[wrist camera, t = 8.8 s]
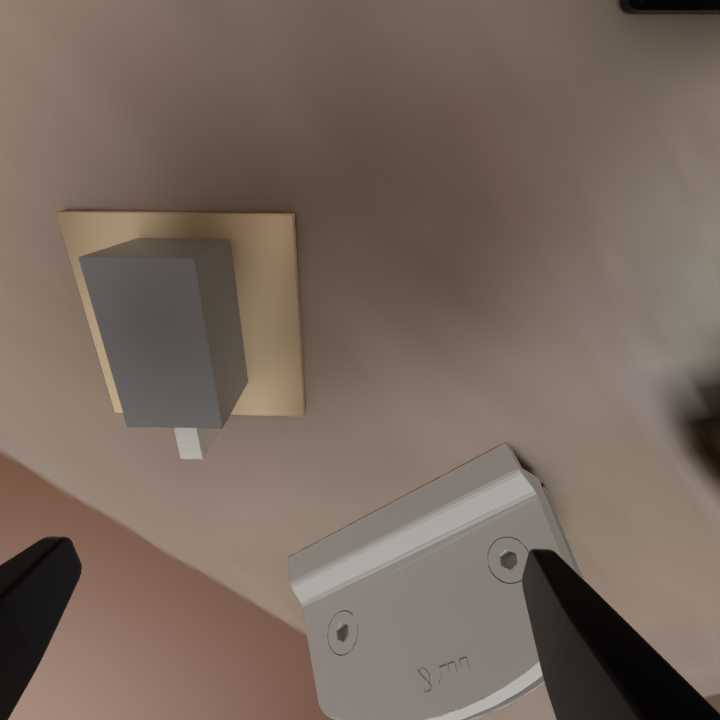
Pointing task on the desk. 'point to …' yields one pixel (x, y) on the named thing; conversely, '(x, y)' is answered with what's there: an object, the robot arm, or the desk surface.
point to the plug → (171, 333)
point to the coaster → (253, 283)
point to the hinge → (430, 597)
